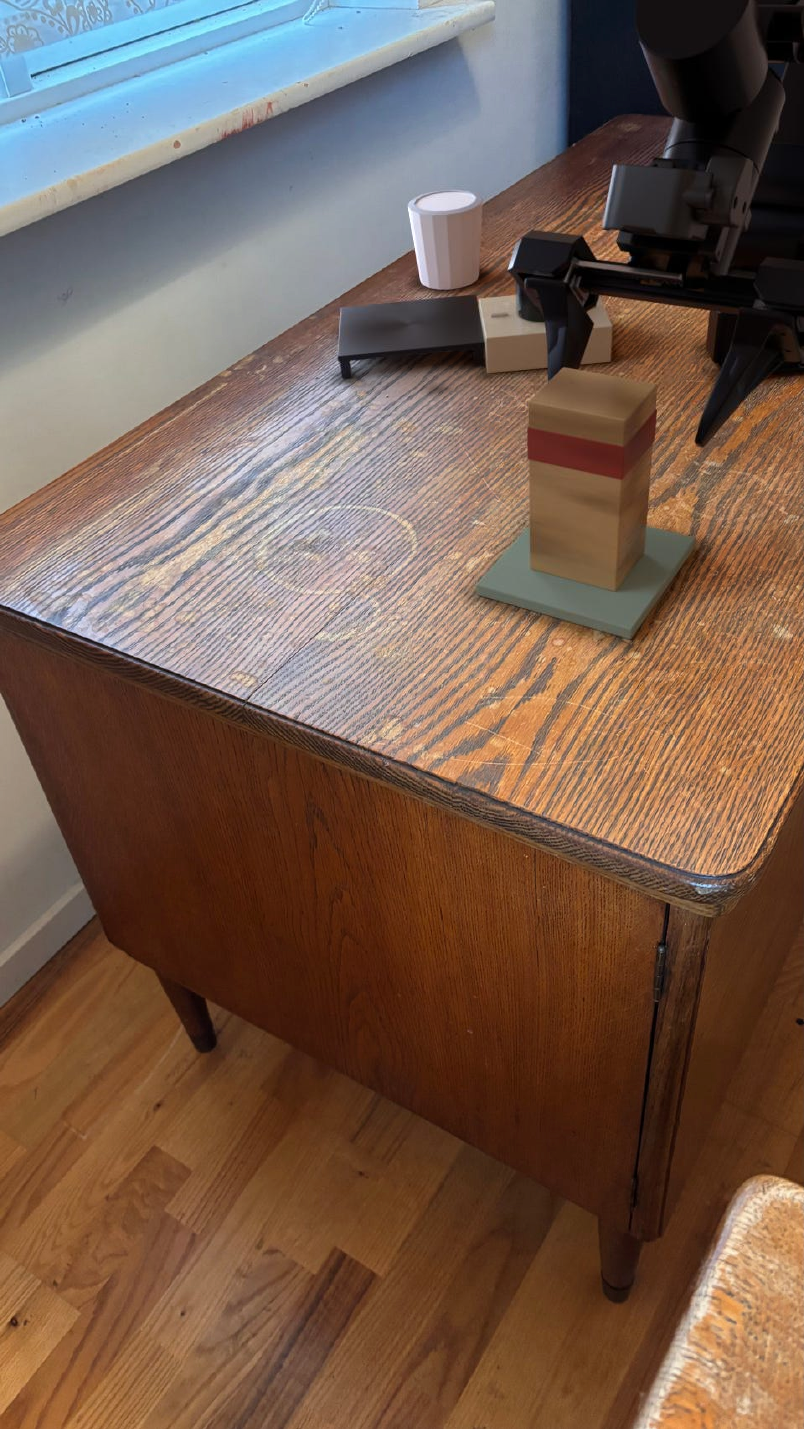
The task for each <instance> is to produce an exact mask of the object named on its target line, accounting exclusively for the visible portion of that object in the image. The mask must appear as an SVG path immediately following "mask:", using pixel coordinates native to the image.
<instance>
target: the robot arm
mask: <svg viewBox="0 0 804 1429" xmlns="http://www.w3.org/2000/svg"><path fill="white" fill-rule="evenodd" d="M633 20H634V21H633V22H634V30H635V33H636V37H637V39H638V42H639V45H640V47H641V49H642V52H643V55H644V59H645V60H646V63H647V66H648V70H649V71H650V74H651V77H652V80H653V83H654V85H655V88H656V91H657V93H658V96H659V99H660V101H661V104H662V107H663V108H665V110H666V111H667V112H668V113H669V114H670V115H671V116H673V117H674V120H673V123H672V126H671V129H670V131H669V134H668V137H667V141H666V144H665V147H664V150H663V153H662V157H656V156H655V157H653V158H652V161H651V162H650V164H649V165H640V164H631V163H628V164H626V163H615V164H613V166H612V172H611V177H610V183H609V186H608V187H609V188H608V193H607V199H606V202H605V209H604V213H603V219H602V224H601V229H602V231H607V232H609V231H618V233H617V235H616V236H617V237H616V240H615V243H616V245H617V247H618V249H619V250H620V252H621V253H622V252H623V253H628V254H629V258H628V259H627V260H628V261H627V262H620V261H613V260H605V259H604V260H603V259H597V257H596V256H595V254H594V253H593V251H592V249H591V247H590V246H589V244H588V242H587V240H586V238H584V236H583V235H581V234H572V233H565V232H553V231H545V230H539V229H537V230H536V229H531V230H529V231H528V232H527V233H526V234H524V235H523V236H522V237H521V238H520V239H519V240H518V241H517V242H516V243H515V245H514V248H513V252H512V255H511V258H510V262H509V264H508V267H507V270H506V271H507V272H508V274H509V275H510V277H512V278H513V280H514V281H515V283H516V282H517V283H518V285H519V286H520V287H521V289H522V290H523V291H524V292H525V294H526V295H527V296H528V298H529V299H530V300H531V301H532V303H533V304H534V305H535V306H537V307H538V308H539V310H540V311H541V312H542V314H543V316H544V322H545V329H546V337H547V354H548V355H547V365H548V368H547V383H548V382H549V381H550V380H551V379H552V378H553V377H554V376H555V375H556V374H557V373H558V372H559V371H560V370H561V369H562V368H564V367H565V368H571V369H577V370H580V367H581V365H580V364H581V361H582V358H583V355H584V352H585V350H586V347H587V344H588V341H589V338H590V335H591V332H592V329H593V326H594V322H593V321H592V319H591V318H590V317H589V315H588V314H587V311H589V310H590V309H592V308H593V307H595V306H596V305H597V302H598V299H599V296H604V297H612V298H618V299H625V300H631V301H639V302H646V303H653V304H660V305H669V306H676V307H683V308H690V309H696V310H704V311H709V312H708V313H709V314H708V323H707V331H706V332H707V333H706V341H705V349H706V352H707V353H708V356H709V357H710V359H711V361H712V363H714V364H715V366H716V367H717V370H718V371H719V373H718V375H717V378H716V380H715V383H714V385H713V387H712V389H711V392H710V395H709V397H708V399H707V402H706V403H705V406H704V408H703V411H702V414H701V416H700V420H699V423H698V427H697V429H696V434H695V437H694V444H695V445H696V447H698V448H701V449H704V448H706V446H707V445H708V444H709V443H710V441H711V440H712V439H713V438H714V437H715V435H716V434H717V433H718V432H719V431H720V429H721V428H722V427H723V426H724V425H725V424H726V423H727V421H728V420H729V419H730V417H731V416H732V415H733V414H734V413H735V412H736V411H737V409H738V408H739V407H740V406H741V405H742V403H743V402H744V401H745V400H746V399H747V398H748V397H749V395H750V394H752V393H753V391H755V390H756V389H757V388H758V387H759V386H760V385H761V384H762V383H763V382H765V380H766V379H767V378H768V377H772V376H783V375H795V374H804V0H636V4H635V9H634V15H633ZM769 63H773V64H774V63H775V64H779V63H780V64H786V65H785V67H784V71H783V73H782V76H781V78H780V76H779V75H778V73H777V72H776V71H775V70H774V69H773V68H772V67H771V66H769Z"/></svg>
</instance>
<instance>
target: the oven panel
mask: <svg viewBox="0 0 804 1429" xmlns="http://www.w3.org/2000/svg"><path fill="white" fill-rule="evenodd" d="M478 306H479V312H480V318H481V324H482V329H483V335H484V341H485V348H484V364H485V368H486V373H487V374H496V373H497V374H498V373H506V372H519V371H527V370H529V371H530V370H539V369H548V365H547V355H548V354H547V337H546V329H545V322H534V321H528V320H525V319H522V318H520V317H519V316H518V315H517V313H516V294H512V295H503V296H492V297H483V298H478ZM587 314H588V315H589V317H590V318H591V319H592V321H593V322H594V326H593V329H592V332H591V335H590V338H589V341H588V344H587V347H586V350H585V352H584V355H583V358H582V361H581V364H580V366H581V365H590V364H591V365H592V364H601V363H603V364H604V363H610V362H612V350H613V349H612V348H613V328H614V326H613V324H612V322H611V319H610V317H609V314H608V311H607V309H606V306H605V304H604V301H603V299H602V295H600V296H599V299H598V302H597V305H596V306H595V307H593V308H592V309H590V310H589V311H587Z"/></svg>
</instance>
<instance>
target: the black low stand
mask: <svg viewBox="0 0 804 1429" xmlns="http://www.w3.org/2000/svg"><path fill="white" fill-rule="evenodd" d="M337 346H338V348H337V361H338V363H339V367H340V374H341V379H352V375H353V372H352V365H351V362H353V361H363V360H373V359H383V358H395V357H405V356H415V355H416V356H417V355H424V354H425V355H427V354H435V353H436V354H437V353H447V352H448V353H449V352H457V351H458V352H459V351H467V350H473V364H474V367H479V366H485V357H484V348H485V341H484V335H483V329H482V324H481V318H480V312H479V300H478V296H477V294H465V295H463V294H462V295H454V296H453V295H452V296H444V297H433V298H425V299H422V298H421V299H415V300H406V301H405V300H404V301H394V302H393V301H392V302H383V303H372V304H363V305H352V306H344V307H342V306H341V307H340V315H339V329H338V345H337Z"/></svg>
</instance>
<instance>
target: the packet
mask: <svg viewBox="0 0 804 1429" xmlns="http://www.w3.org/2000/svg"><path fill="white" fill-rule="evenodd" d="M658 386H659V384H658V383H656V382H650V381H645V380H639V379H634V378H627V377H621V376H615V375H611V374H605V373H599V372H593V371H592V372H591V371H588V370H581V369H579V370H577V369H571V368H565V367H564V368H562V369H561V370H560V371H559V372H558V373H557V374H556V375H555V376H554V377H553V378H552V379H551V380H550V381H549V382H548V381H547V383H546V384H545V385H544V386H542V388H541V389H539V390H538V391H537V392H536V393H535V395H533V396H532V397H531V398H530V399H529V400H528V402H527V403H528V404H527V407H528V408H527V410H528V411H527V412H528V417H527V418H528V419H527V420H528V425H527V427H526V446H527V451H526V452H527V460H528V497H529V498H528V500H529V501H528V502H529V503H528V504H529V505H528V506H529V525H530V569H533V570H537V571H540V572H544V573H548V574H551V575H555V576H559V577H562V578H566V579H570V580H573V581H577V582H581V583H584V584H588V585H592V586H596V587H599V588H603V589H607V590H610V591H614V592H615V591H616V590H617V589H618V588H619V586H620V585H621V583H622V582H623V581H624V579H625V578H626V577H627V575H628V574H629V573H630V571H631V570H632V569H633V567H634V566H635V565H636V563H637V562H638V561H639V559H640V558H641V557H642V555H643V554H644V551H645V539H646V526H648V524H647V523H648V514H649V513H648V512H649V502H650V500H649V499H650V488H651V486H650V485H651V474H652V462H653V451H654V450H653V448H654V443H655V440H656V427H657V416H658V415H657V414H658V409H657V399H658Z"/></svg>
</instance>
